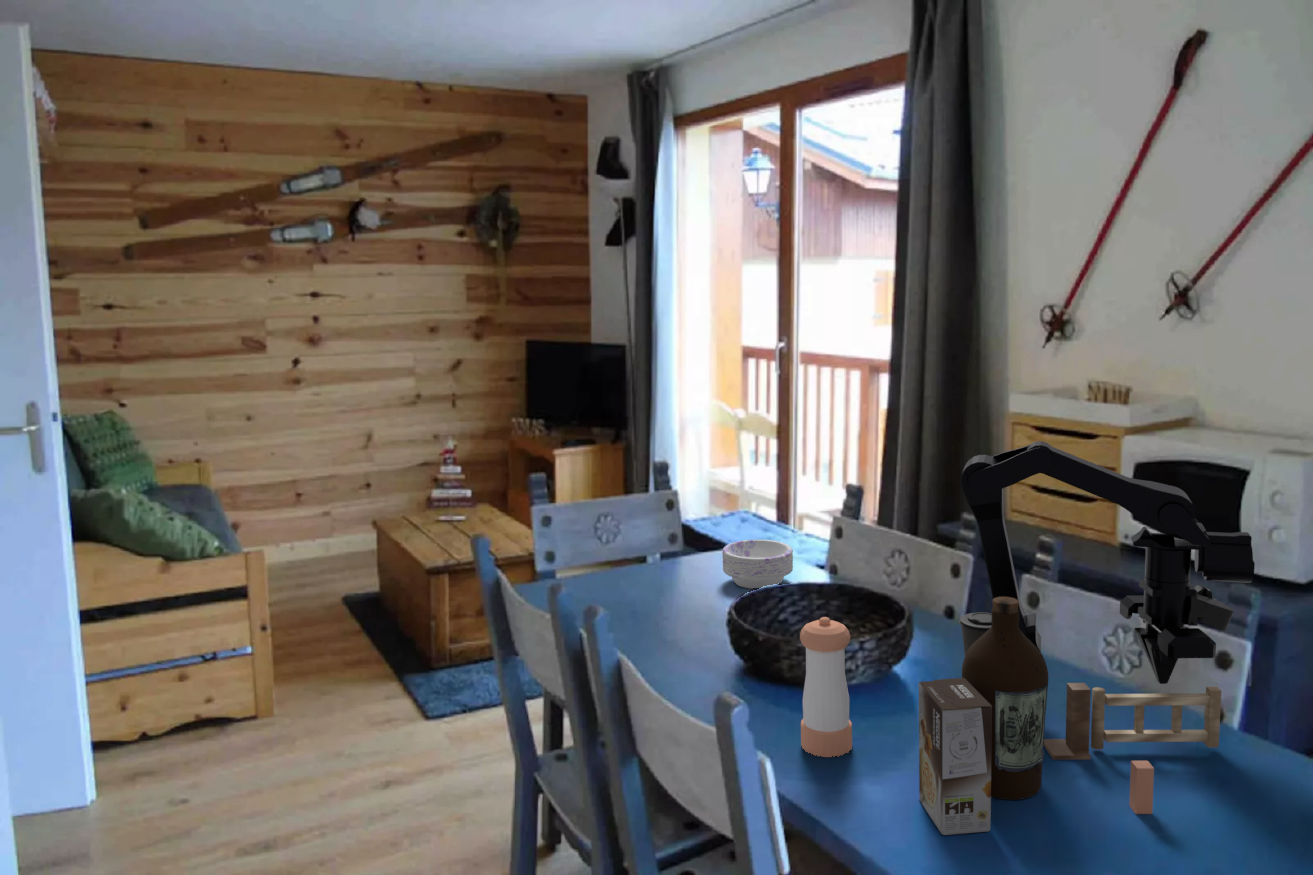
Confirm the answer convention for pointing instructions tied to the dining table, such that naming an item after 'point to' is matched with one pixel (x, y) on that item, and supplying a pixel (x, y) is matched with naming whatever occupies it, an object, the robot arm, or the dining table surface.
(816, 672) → the salt shaker
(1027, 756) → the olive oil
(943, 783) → the coffee box
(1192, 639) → the robot arm
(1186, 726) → the dining table surface
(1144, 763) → the post
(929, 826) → the dining table surface
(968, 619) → the coffee cup
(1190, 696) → the gate
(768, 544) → the white patterned bowl
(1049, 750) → the hinge post
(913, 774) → the dining table surface
